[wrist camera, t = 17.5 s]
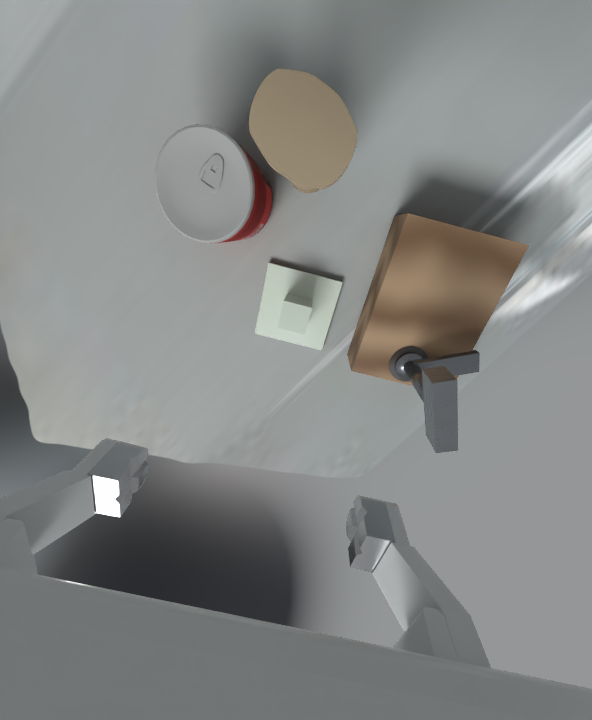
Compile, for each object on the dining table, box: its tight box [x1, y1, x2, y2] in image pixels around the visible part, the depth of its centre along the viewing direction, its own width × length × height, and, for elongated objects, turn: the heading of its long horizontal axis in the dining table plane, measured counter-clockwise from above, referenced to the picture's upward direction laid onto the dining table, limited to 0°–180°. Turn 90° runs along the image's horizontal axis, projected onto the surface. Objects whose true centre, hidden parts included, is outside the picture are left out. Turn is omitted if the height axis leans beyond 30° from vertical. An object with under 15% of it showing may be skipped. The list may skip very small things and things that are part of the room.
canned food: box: [155, 124, 272, 243], centre depth 27 cm, size 8×8×11 cm
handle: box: [249, 69, 357, 193], centre depth 23 cm, size 5×6×15 cm
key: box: [395, 350, 479, 453], centre depth 28 cm, size 8×7×10 cm
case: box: [347, 213, 529, 386], centre depth 33 cm, size 17×12×5 cm
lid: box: [255, 262, 343, 350], centre depth 34 cm, size 9×9×5 cm
